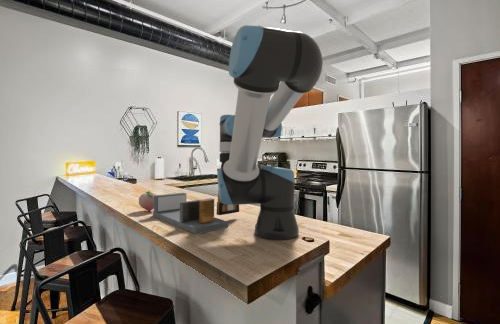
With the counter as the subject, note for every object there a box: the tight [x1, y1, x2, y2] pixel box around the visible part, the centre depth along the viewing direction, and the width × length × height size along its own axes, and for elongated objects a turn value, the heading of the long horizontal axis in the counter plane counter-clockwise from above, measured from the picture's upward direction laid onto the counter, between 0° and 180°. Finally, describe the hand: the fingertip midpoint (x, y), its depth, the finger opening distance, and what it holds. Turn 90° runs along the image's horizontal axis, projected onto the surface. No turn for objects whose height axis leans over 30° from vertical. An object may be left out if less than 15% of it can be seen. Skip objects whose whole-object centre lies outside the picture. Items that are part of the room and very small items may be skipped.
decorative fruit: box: [138, 191, 157, 212], centre depth 122 cm, size 9×8×10 cm
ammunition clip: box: [216, 188, 240, 216], centre depth 109 cm, size 11×2×12 cm, turn 133°
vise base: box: [152, 192, 229, 235], centre depth 106 cm, size 35×14×9 cm, turn 43°
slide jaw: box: [180, 198, 215, 223], centre depth 98 cm, size 8×14×8 cm, turn 133°
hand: (228, 209), depth 109 cm, fingers closed on ammunition clip, 2 cm apart
